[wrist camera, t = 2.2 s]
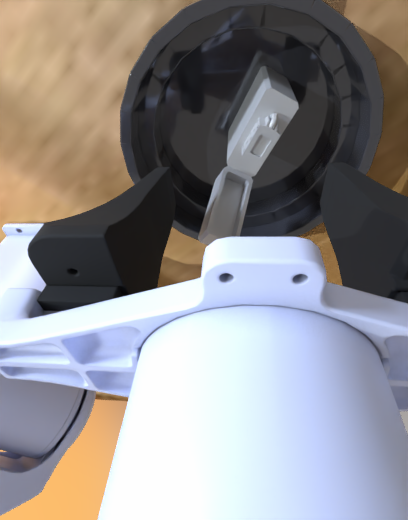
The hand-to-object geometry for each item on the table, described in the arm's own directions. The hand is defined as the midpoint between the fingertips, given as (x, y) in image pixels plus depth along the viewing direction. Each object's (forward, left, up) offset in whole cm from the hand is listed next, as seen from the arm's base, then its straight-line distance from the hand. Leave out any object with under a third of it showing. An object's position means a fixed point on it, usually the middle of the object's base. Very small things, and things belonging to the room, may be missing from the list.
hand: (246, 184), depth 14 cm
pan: (0, 0, -7) cm, 7 cm away
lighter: (0, 0, -7) cm, 7 cm away
